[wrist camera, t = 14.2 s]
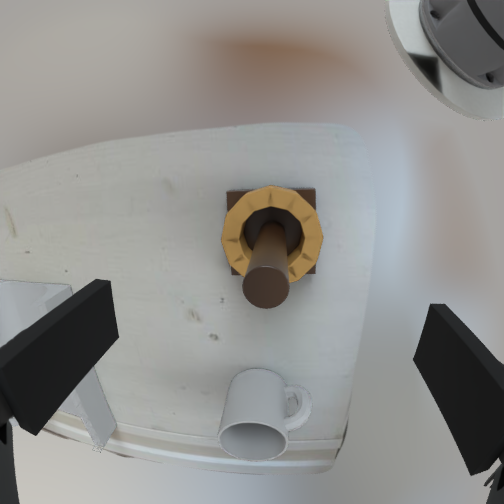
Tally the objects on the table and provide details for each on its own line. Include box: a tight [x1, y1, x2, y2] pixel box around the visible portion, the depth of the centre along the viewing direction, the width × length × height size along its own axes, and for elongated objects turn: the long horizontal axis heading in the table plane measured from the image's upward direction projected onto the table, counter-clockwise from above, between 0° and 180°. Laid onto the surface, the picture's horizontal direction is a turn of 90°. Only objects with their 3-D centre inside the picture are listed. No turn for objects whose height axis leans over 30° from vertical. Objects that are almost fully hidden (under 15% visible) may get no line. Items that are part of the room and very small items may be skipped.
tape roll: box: [221, 185, 323, 283], centre depth 27 cm, size 8×8×3 cm
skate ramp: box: [0, 280, 117, 453], centre depth 33 cm, size 25×23×10 cm
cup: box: [217, 369, 312, 462], centre depth 30 cm, size 7×10×9 cm
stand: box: [226, 188, 316, 309], centre depth 22 cm, size 8×8×14 cm
